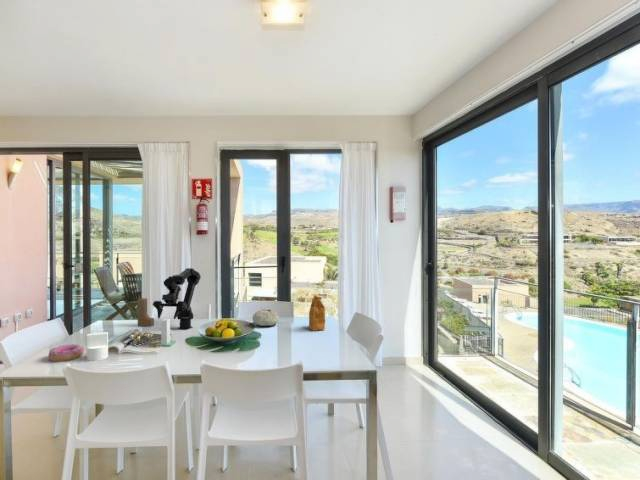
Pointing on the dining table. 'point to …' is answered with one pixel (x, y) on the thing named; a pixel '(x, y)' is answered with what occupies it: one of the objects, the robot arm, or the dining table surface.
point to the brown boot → (144, 313)
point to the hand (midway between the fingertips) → (166, 318)
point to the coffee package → (317, 314)
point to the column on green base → (165, 334)
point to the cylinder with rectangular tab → (97, 346)
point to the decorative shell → (265, 317)
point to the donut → (66, 352)
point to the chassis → (142, 339)
